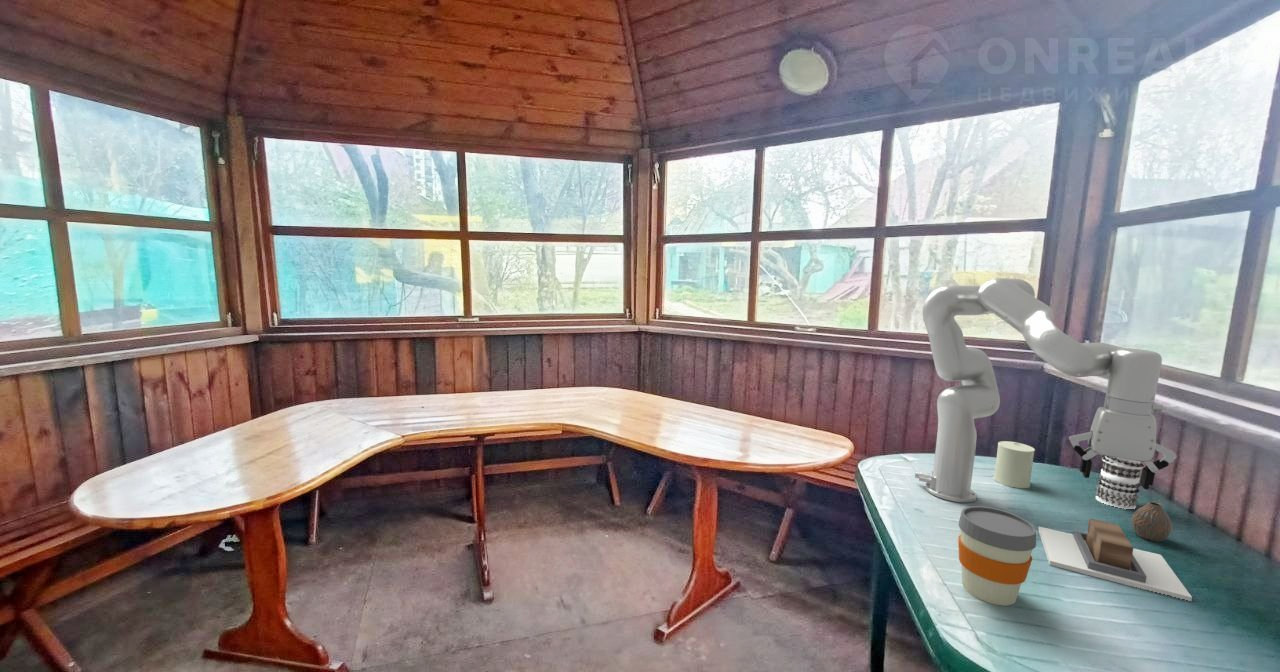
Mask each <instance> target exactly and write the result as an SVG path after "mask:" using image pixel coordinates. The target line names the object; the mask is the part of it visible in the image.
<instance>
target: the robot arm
mask: <svg viewBox="0 0 1280 672" xmlns="http://www.w3.org/2000/svg"><path fill="white" fill-rule="evenodd" d="M1035 296H1036V292H1035V289H1034V288H1033V286H1032V285H1031V284H1030V283H1029V282H1027V281H1026V280H1024V279H1020V278H1003V277H1002V278H1001V277H1000V278H999V277H998V278H993V279H990V280H987V281H985V282H984V283H983V284H981V285H945V286H941V287H939V288H936V289H934V290H932V292H930V293H929V295H928V296H927V297H926V299H925V300H924V302H923V306H922V319H923V324H924V326H925V329H926V332H927V335H928V339H929V345H930V346H929V347H930V350H931V354H932V359H933V363H934V369H935V372H936V374H937V376H938V377H939V378H940V379H942V380H943V381H947V382H961V384H962V385H954V386H950V387H947V388H946V389H944V390H942V391H941V392H940V393H939V395H938V397H937V402H936V409H937V422H938V423H937V434H936V442H935V452H934V462H933V470H932V471H931V472H927V473H923V472H920V471H915V475H914V478H915V479H918V481H919V482H925V490H926V491H927V492H928V493H930V495H933V496H934V497H938V498H939V499H943V500H947V501H950V502H955V503H972V502H974V501H976V500H977V493H976V492H975V491H974V489H973V490H972V480H973V473H974V464H975V457H976V447H977V440H978V439H977V436H978V435H977V429H976V424H975V420H976V419H979V418H980V419H981V418H987V417H990V416H992V415H994V414H996V412H998V410H999V408H1000V403H1001V397H1000V392H999V388H998V384H997V381H996V380H997V379H996V375H995V371H994V368H993V364H992V361H991V359H990V357H989V356H988V355H987V353H985V352H984V351H983V350H982V349H979V348H977V347H971V346H970V347H967V345H966V342H965V338H964V333H963V330H962V329H961V327H960V325H959V324H958V322H957V321H956V319H955V317H956V316H979V315H990V314H994V315H995V316H997V317H998V318H999V319H1001V320H1003V321H1004V322H1005V323H1006V324H1008V325H1009V326H1010V327H1012V328H1013V329H1015V330H1016V331H1018V332H1019V333H1020V334H1021V335H1022V336H1023V337H1022V338H1023V339H1024V340H1025V343H1026V344H1027V345H1028V347H1029V348H1030V350H1031V351H1033V353H1034V354H1036V356H1038V357H1039V358H1040V359H1042V360H1043V361H1045V362H1046V363H1047V364H1048V365H1050V366H1051V367H1052V368H1054V369H1055V370H1057V371H1059V372H1060V373H1062V374H1065V376H1069V377H1072V378H1073V377H1074V378H1087V377H1099V376H1100V377H1101V376H1105V377H1106V376H1108V380H1107V387H1106V393H1105V397H1104V403H1103V406H1098V408H1097V410H1096V412H1095V415H1094V416H1093V420H1092V423H1091V426H1090V431H1088V432H1084V433H1083V432H1081V433H1078V434H1072V435H1069V436H1068V440H1069V441H1070V444H1071V446H1072V448H1073V449H1074V451H1075V452H1076V453H1077V454H1078V455H1079V456H1080V458H1081V460H1080V465H1079V472H1081V474H1082V475H1083V478H1086V479H1088V478H1090V475H1091V470H1092V464H1093V462H1092V460H1091V459H1092V458H1094V457H1096V456H1097V455H1101V456H1102V455H1106V456H1112V457H1117V458H1123V459H1129V460H1135V461H1141V463H1143V465H1144V466H1143V468H1142V469H1141V473H1140V480H1139V484H1140V487H1142V488H1143V490H1147V491H1149V489H1150V486H1153V484H1154V479H1155V474H1156V473H1158V472H1159V470H1162V469H1165V468H1167V467H1168V466H1170V464H1171V463H1173V461H1175V460H1176V459H1177V457H1178V456H1177V455H1178V454H1176V453H1174V452H1173V451H1171V450H1170V449H1168V448H1166V447H1164V446H1163V445H1161V444H1159V443H1157V420H1156V416H1155V415H1154V413H1155V412H1162V411H1163V405H1162V404H1158V403H1156V402H1155V399H1156V395H1157V388H1158V383H1159V379H1160V374H1161V368H1162V364H1163V357H1162V356H1161V354H1160V353H1158V352H1157V351H1152V350H1147V349H1141V348H1127V347H1122V346H1117V345H1114V344H1110V343H1104V342H1082V343H1081V342H1079V341H1077V340H1075V339H1074V338H1072V337H1071V336H1070V335H1068V334H1066V333H1065V332H1064V331H1062V330H1061V329H1060V328H1058V327H1057V325H1055V324H1054V322H1053V321H1052V320H1053V317H1054V309H1053V308H1052V307H1050V306H1049V305H1047V304H1046V303H1044V302H1043V301H1042V300H1039V299H1038V298H1037V297H1035ZM1082 441H1087V445H1088V447H1087V448H1085V449H1083V448H1082V447H1081V445H1080V442H1082ZM1155 451H1156V452H1158V453H1160V454H1162V455H1163V456H1162V457H1161V458H1159V459H1157V460H1155V461H1152V460H1153V459H1154V456H1155Z"/></svg>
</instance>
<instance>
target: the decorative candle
mask: <svg viewBox="0 0 1280 672" xmlns="http://www.w3.org/2000/svg"><path fill="white" fill-rule="evenodd" d="M1100 458H1101V460H1102V462H1103V463H1102V468H1101V469H1100V474H1099V475H1098V477H1099V479H1098V480H1097V483H1098V484H1097V485H1096V489H1097V490H1096V491H1095V494H1096V495H1095V500H1096V501H1098V502H1099V503H1102V504H1103V503H1104V504H1103V505H1105V504H1106V505H1105V506H1108V505H1110V506H1109V507H1111V506H1114V507H1113V508H1115V507H1118V508H1117V509H1119V508H1122V509H1121V510H1126V509H1134V510H1135V508H1136V509H1137V504H1138V503H1139V502H1138V501H1137V500H1138V499H1139V498H1140V497H1139V495H1138V494H1137V493H1139V492H1140V489H1139V488H1141V485H1140V479H1141V470H1142V469H1143V468H1144V467H1145V464H1144V463H1143V462H1141V461H1135V460H1129V459H1123V458H1117V457H1112V456H1106V455H1101V456H1100ZM1123 508H1124V509H1123Z"/></svg>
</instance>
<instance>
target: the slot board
mask: <svg viewBox="0 0 1280 672" xmlns="http://www.w3.org/2000/svg"><path fill="white" fill-rule="evenodd" d="M1038 534H1039V537H1040V540H1041V543H1042V546H1043V549H1044V552H1045V555H1046V558H1047V562H1048V564H1049V566H1051V567H1055V568H1060V569H1063V570H1064V569H1065V570H1067V571H1071V572H1075V573H1080V574H1083V575H1087V576H1091V577H1095V578H1099V579H1102V580H1105V581H1111V582H1114V583H1118V584H1121V585H1123V586H1124V585H1125V586H1129V587H1132V586H1133V587H1134V588H1136V587H1137V589H1140V588H1141V590H1143V591H1147V590H1149V591H1148V592H1151V591H1153V592H1152V593H1155V592H1157V593H1156V594H1159V593H1161V594H1160V595H1163V594H1165V595H1164V596H1167V595H1170V596H1172V597H1171V598H1174V597H1176V598H1175V599H1178V598H1180V599H1179V600H1182V599H1185V600H1184V601H1186V600H1188V601H1187V602H1189V601H1191V602H1192V599H1193V597H1192V595H1191V594H1190V593H1189V591H1188V590H1187V588H1186V587H1185V586H1184V584H1183V582H1182V581H1180V580H1181V579H1179V578H1178V576H1177V575H1176V573H1175V572H1174V570H1173V569H1172V568H1171V567H1170V565H1169V564H1168V563H1167V561H1166V559H1165V558H1164V557H1163V555H1162V554H1159V553H1155V552H1151V551H1146V550H1143V549H1138V548H1134V547H1133V553H1132V559H1131V565H1130V570H1127V569H1123V568H1119V567H1115V566H1111V565H1107V564H1103V563H1099V562H1095V561H1094V559H1093V556H1092V554H1091V552H1090V550H1089V548H1088V546H1087V544H1086V539H1087V532H1085V531H1084V532H1083V531H1079V530H1073V534H1072V533H1069V532H1064V531H1060V530H1056V529H1052V528H1046V527H1043V526H1038ZM1133 587H1132V588H1133ZM1145 589H1146V590H1145ZM1170 596H1169V597H1170Z"/></svg>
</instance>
